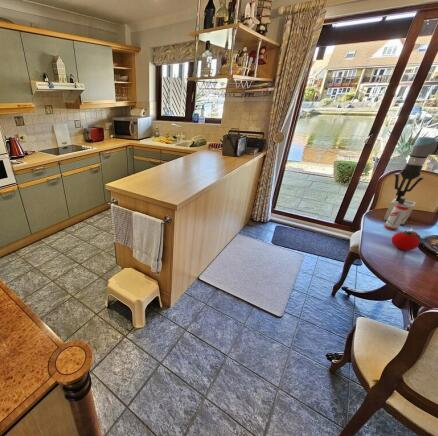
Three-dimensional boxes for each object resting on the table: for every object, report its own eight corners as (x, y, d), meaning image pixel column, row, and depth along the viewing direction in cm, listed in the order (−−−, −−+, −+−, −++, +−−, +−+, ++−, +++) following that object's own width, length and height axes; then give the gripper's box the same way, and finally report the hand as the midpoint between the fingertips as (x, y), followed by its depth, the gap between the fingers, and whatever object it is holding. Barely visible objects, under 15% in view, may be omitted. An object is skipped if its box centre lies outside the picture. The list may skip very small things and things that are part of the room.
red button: (417, 235, 138) (418, 232, 138) (415, 237, 136) (417, 235, 135) (407, 232, 141) (408, 230, 141) (405, 234, 139) (407, 232, 138)
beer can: (393, 227, 155) (406, 204, 147) (399, 232, 149) (412, 208, 142) (381, 225, 156) (393, 202, 149) (386, 230, 151) (399, 206, 144)
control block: (422, 241, 139) (425, 235, 137) (419, 246, 135) (423, 240, 133) (398, 235, 146) (401, 229, 144) (395, 239, 142) (398, 233, 140)
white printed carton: (407, 220, 163) (416, 202, 157) (403, 225, 156) (412, 207, 151) (387, 215, 170) (395, 197, 165) (382, 220, 164) (390, 202, 158)
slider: (403, 203, 156) (405, 198, 155) (402, 203, 155) (405, 199, 153) (398, 201, 158) (400, 197, 156) (397, 202, 157) (399, 198, 155)
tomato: (383, 243, 138) (391, 227, 133) (399, 242, 139) (408, 227, 134) (401, 254, 128) (411, 238, 124) (419, 253, 129) (429, 237, 125)
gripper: (398, 163, 150) (382, 199, 160) (429, 167, 140) (410, 205, 151) (401, 161, 154) (385, 196, 164) (431, 165, 144) (412, 202, 155)
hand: (397, 200), depth 157 cm, fingers closed
